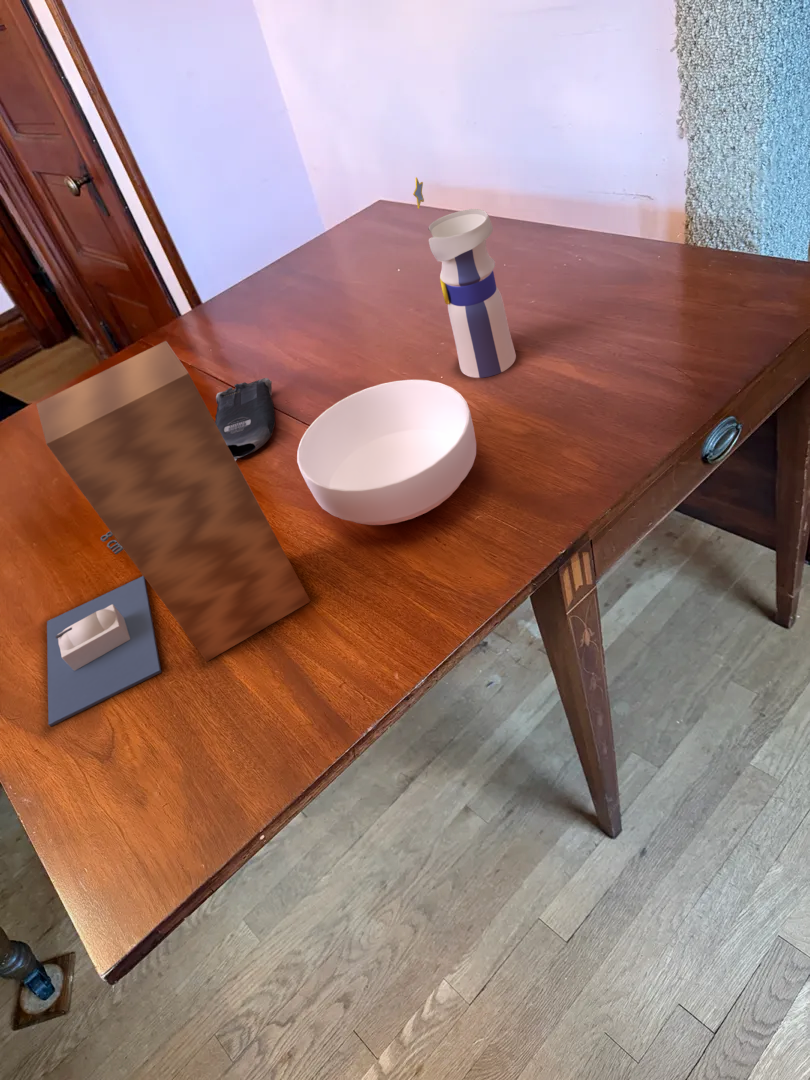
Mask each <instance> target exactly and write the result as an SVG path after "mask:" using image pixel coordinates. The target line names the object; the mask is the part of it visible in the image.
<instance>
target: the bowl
mask: <svg viewBox="0 0 810 1080" xmlns="http://www.w3.org/2000/svg"><path fill="white" fill-rule="evenodd" d="M476 440H477V439H476V433H475V427H474V423H473V418H472V413H471V410H470V407H469V405H468V402H467V400H466V398H464V396H463V395H462V393H460V392H459V391H457V390H456V389H455V388H453V387H452V386H450V385H447V384H444V383H442V382H438V381H433V380H430V379H429V380H428V379H403V380H402V379H401V380H393V381H389V382H383V383H380V384H376V385H374V386H370V387H367V388H365V389H362V390H358V391H357V392H355V393H352V394H350V395H348V396H347V397H344V398H343V399H340V400H339V401H336V402H335V403H334V404H333V405H332V406H330V407H328V408H327V409H326V410H324V411H323V412H322V413H321V414H320V415H319V416H318V417H317V418H315V419H314V421H313V422H312V423H311V424H310V425H309V426H308V428H307V429H306V430H305V432H304V434H303V435H302V437H301V439H300V441H299V444H298V446H297V451H296V463H297V465H298V469H299V471H300V474H301V476H302V477H303V479H304V482H305V484H306V486H307V488H308V490H309V491H310V493H311V494H312V496H313V498H314V500H315V502H317V504H318V505H319V506H320V508H321V509H322V510H324V511H325V512H327V513H328V514H330V515H331V516H333V517H335V518H339V519H341V520H343V521H349V522H353V523H355V524H360V525H361V524H362V525H367V526H385V525H392V524H398V523H402V522H405V521H409V520H412V519H415V518H416V517H417V518H418V517H420V516H422V515H423V514H426V513H428V512H430V511H432V510H433V509H435V508H437V507H439V506H440V505H441V504H442V503H443V502H445V501H446V500H448V499H449V498H450V497H451V496H452V495H453V493H454V492H455V491H456V490H457V489H458V488H459V487H460V485H461V483H462V482H463V481H464V480H465V479H466V477H467V476H468V474H469V472H470V471H471V469H472V467H474V463H475V459H476V456H477V441H476Z"/></svg>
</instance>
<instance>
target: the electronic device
mask: <svg viewBox="0 0 810 1080" xmlns="http://www.w3.org/2000/svg"><path fill="white" fill-rule="evenodd" d="M272 384H273V381H272V380H271V379H270V378H268V377H263V378H260V379H258V380H254V381H252V382H248V383H247V382H245V381H244V382H241V383H236V384H234V387H235V388H234V389H233V387H232V386H230V387H228V388H227V389H226V390H224V391H223V390H222V391H219V392H217V394H216V396H215V401H216V404H217V405H216V406H217V407H216V413H215V420H214V422H215V423H216V425H217V427H218V429H219V431H220V433H221V435H222V437H223V438H224V440H225V442H226V444H227V446H228V448H229V450H230V451H231V453H232V455H233V457H234V459H235V461H236V462H237V460H238V459H240V458H243V457H245V456H248V455H250V454H252V453H254V452H256V451H257V450H259V449H260V448H262V447H264V445H265V444H266V443H267V442H269V440H270V439H271V438H272V435H273V433H274V428H275V426H276V424H275V423H276V414H275V407H274V402H273V398H272V395H273V394H272V392H273V391H272Z"/></svg>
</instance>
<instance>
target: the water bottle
mask: <svg viewBox="0 0 810 1080" xmlns="http://www.w3.org/2000/svg"><path fill="white" fill-rule="evenodd" d="M414 178H415V181H414V182H415V189H414V190H413V193H412V195H413V197H415V198H416V204H417V210H419V209H420V206H421V203H424V202H425V198H424V195H423V188H424V187H423V186H424V182H423V181H421V182H419V179H418V177H417V176H415V177H414ZM428 231H429V233H430V234H431V237H429V238H428V245H429V247H430V248H429V249H430V251H431V254H432V256H433V257H434V258H435V260H436V262H438V263H440V262H441V271H440V274H439V282H440V287H441V293H442V296H443V301H444V303H445V305H447V312H448V317H449V321H450V325H451V330H452V335H453V339H454V343H455V349H456V353H457V359H458V363H459V369H460V371H461V373H462V374H463V375H465V376H467V377H469V378H475V379H482V378H483V379H484V378H488V377H494V376H497V375H498V374H499V375H500V374H501V373H503V372H505V371H507V370H508V369H509V368H510V367H512V366H513V364H514V363H515V361H516V359H517V355H516V350H515V346H514V342H513V339H512V335H511V331H510V327H509V322H508V318H507V313H506V312H507V311H506V307H505V303H504V300H503V296H502V293H501V291H500V289H499V288H498V286H497V284H496V278H495V272H494V270H495V267H496V261H495V259H494V258H493V257H492V256H491V255H490V253H489V251H488V248H487V240H488V239H489V237H490V236H491V235H492V234H493V232H494V227H493V223H492V220H491V217H490V216H489V213H488V212H487V211H486V210H483V209H479V208H470V209H463V210H459V211H455V212H452V213H448V214H446V215H444V216H442V217H438V218H437V219H436V220H434V221H432V222H431V223H430V224H429V225H428Z"/></svg>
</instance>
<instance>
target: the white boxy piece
mask: <svg viewBox="0 0 810 1080" xmlns="http://www.w3.org/2000/svg"><path fill="white" fill-rule="evenodd" d="M57 638H58V643H59V647H60V651H61V656H62V659H63V660H64V661H65V662H66V663H67V664H68V665H69V666H70V667H71V668H72V669H73V670H74V671H75V670H77V669H79V668H80V667H82V666H84V665H86V664H88V663H89V662H91V661H93V660H95V659H96V658H98V657H100V656H102V655H104V654H105V653H107V652H109V651H111V650H112V649H114V648H116V647H118V646H120V645H121V644H123V643H125V642H127V641H128V640H130V636H129V633H128V630H127V627H126V624H125V620H124V617H123V616H122V615H121V614H120V612H119V611H118V610H117V609H116V607H115V606H114V605H113V604H112V605H110V606H108V607H106V608H104V609H102V610H99V611H96V612H95V613H93V614H91V615H89V616H87V617H85V618H84V619H82V620H80V621H78V622H76V623H75V624H73V625H71V626H69V627H67V628H66V629H64V630H63V631H62V632H61V633H59V634H57V635H56V639H57Z"/></svg>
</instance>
